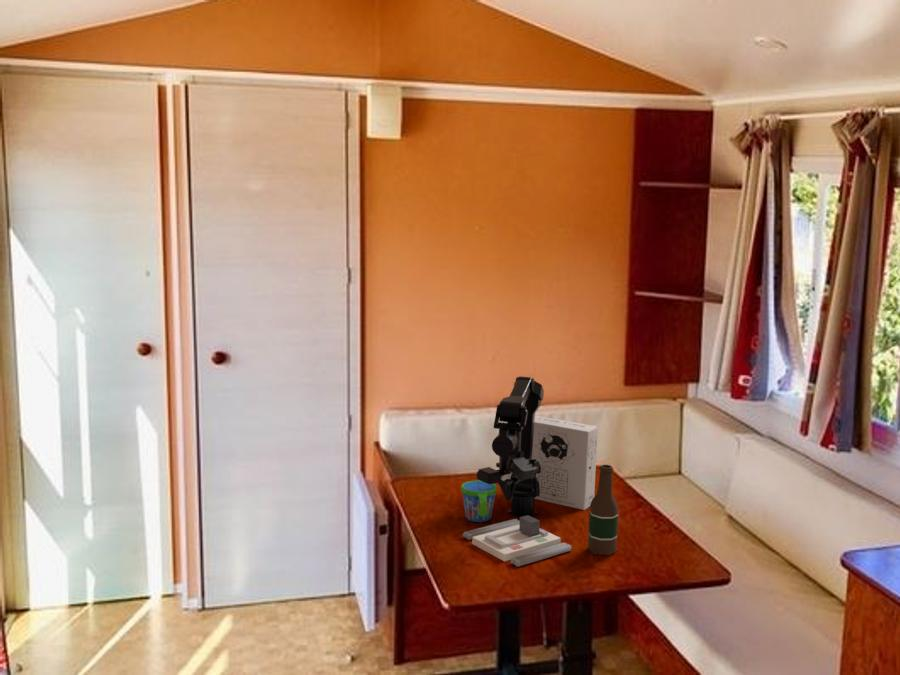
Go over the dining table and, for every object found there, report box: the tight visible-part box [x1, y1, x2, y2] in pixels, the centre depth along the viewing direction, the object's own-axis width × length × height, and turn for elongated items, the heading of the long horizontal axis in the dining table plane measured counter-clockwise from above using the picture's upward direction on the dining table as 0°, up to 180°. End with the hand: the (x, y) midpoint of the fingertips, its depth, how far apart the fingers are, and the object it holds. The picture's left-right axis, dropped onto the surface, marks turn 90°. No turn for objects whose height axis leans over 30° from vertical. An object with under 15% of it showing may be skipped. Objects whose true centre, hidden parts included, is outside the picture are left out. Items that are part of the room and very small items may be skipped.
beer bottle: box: [587, 464, 619, 556], centre depth 243 cm, size 8×8×24 cm
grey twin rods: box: [462, 518, 573, 568], centre depth 248 cm, size 20×24×2 cm
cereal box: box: [532, 415, 599, 511], centre depth 282 cm, size 22×8×25 cm, turn 58°
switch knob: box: [519, 515, 541, 537], centre depth 250 cm, size 3×5×4 cm, turn 36°
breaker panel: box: [471, 525, 562, 563], centre depth 248 cm, size 20×14×3 cm
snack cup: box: [460, 480, 498, 523], centre depth 266 cm, size 16×10×10 cm
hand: (508, 500), depth 248 cm, fingers closed
